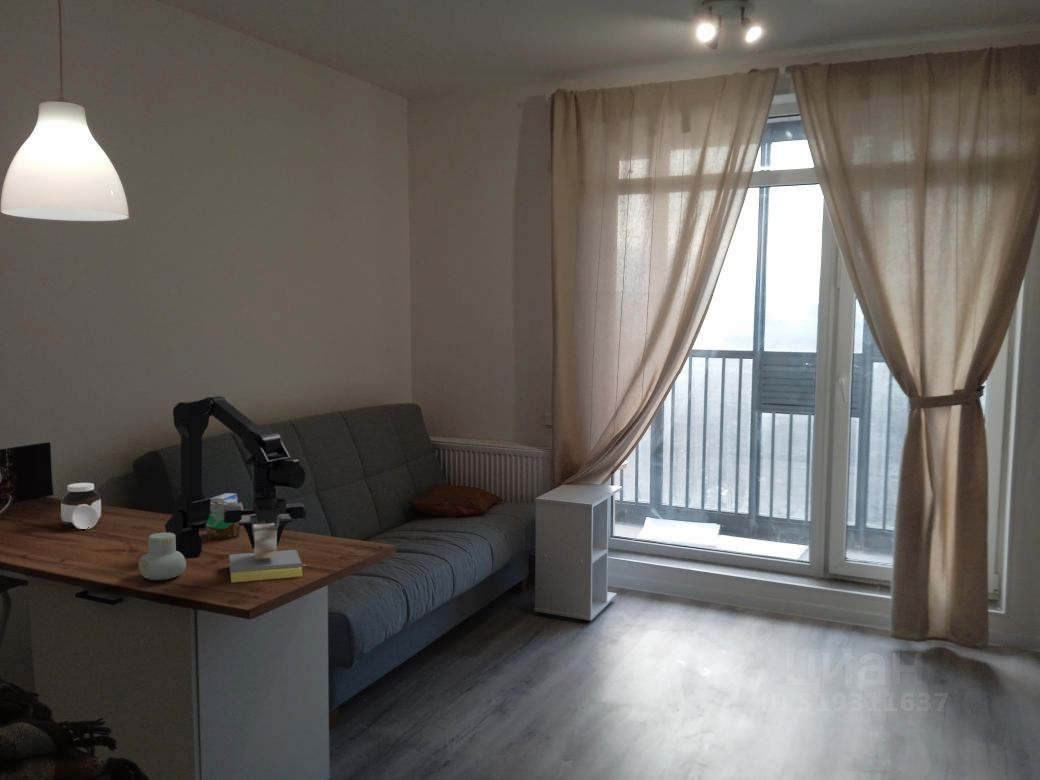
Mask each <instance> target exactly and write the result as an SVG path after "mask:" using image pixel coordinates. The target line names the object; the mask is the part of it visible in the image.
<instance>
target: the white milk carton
mask: <svg viewBox="0 0 1040 780" xmlns="http://www.w3.org/2000/svg"><path fill="white" fill-rule="evenodd" d="M252 531H253V538H254V549H252V553H254V557H255V559H262V558H276V557H277V551H278V546H277V529H276V524H275V522H274V523H273V522H272V523H256V524H252Z"/></svg>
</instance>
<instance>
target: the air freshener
mask: <svg viewBox="0 0 1040 780" xmlns="http://www.w3.org/2000/svg"><path fill="white" fill-rule="evenodd" d="M147 542H148V543H147V544H148V547H147V548H148V552H147V553H145V554H144V555H142V556H141V557H140V558H139V560H138V570H139V572H140V574H141V576H142V577H144V578H145V579H148V580H149V581H167V580H170V579H174V578H175V577H178V576H180V575H181V574H182V573H183V572H184V571H185V570H186V568H187V561H186V557H184V556H183V555H182V554H181V553H180V552H178V551H176V536H175V534H173V533H166V532H156V533H152V534H150V535H149V536H148V541H147Z"/></svg>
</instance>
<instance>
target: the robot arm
mask: <svg viewBox="0 0 1040 780" xmlns="http://www.w3.org/2000/svg"><path fill="white" fill-rule="evenodd" d="M172 417H173V424H174V428H175V429H176V431H177V433H178V435H179V436H180V494H179V495H178V497H177V499H176V500H175V503H174V506H173V507H174V508H173V514H172V516H171V517H170V518H169V519H168V521H167V522H165V524H164V529H165V533H173V534H175V536H176V551H178V552H180V553H181V554H182V555H183V556H184V558H192V557H193V558H194V557H200V555H201V553H202V551H203V547H202V545H203V543H202V542H203V540H202V539H203V537H202V534H201V533H200V530H202V529H206V528H207V527H206V524H207V520H208V519H209V514H211V510H210V504H211V500H210V498H207V497H206V495H205V494H204V492H203V436H204V433H205V431H206V430H207V428H208V426H209V421H210V417H213V418H215V419H216V420H217V421H219V422H220V423H221V424H222V425H224V426H225V427H226V428H227V429H228V430H229V431H231V432H232V433H233V434H235V435H236V436H237V437H238V438H239V439H240V440H241V442H242V446H243V448H244V449H245V450H246V451H247V452H248V453H249V455H250V457H249V458H248V459H247V460H246V461H245V462H244V463H245V464H246V465H248V466H249V465H250V466H252V467H251V468H252V469H251V471H252V472H251V473H252V477H251V478H252V481H251V482H252V483H251V484H252V485H251V490H252V491H251V492H252V493H251V494H252V495H251V496H252V497H251V499H252V502H251V503H252V505H251V506H252V509H249V508H248V509H243V510H241V506H231V507H225V508H224V523H237V522H238V525H240V527H241V526H242V527H243V528H244V529H245V532H246V534H247V536H248V539H249V542H250V546H251V549H252V550H253V549H254V538H253V524H252V519H251V518H255V521H257V522H259V523H261V522H265V521H266V522H267V521H271V522H274V521H276V525H275V527H276V529H277V547H278V545H279V543H280V540H281V537H282V534H283V531H284V530H285V528H286V526H287V524H289V523H292V521H293V520H302V519H303V520H304V519H306V518H307V516H306V514H307V513H306V508H305V505H304V504H303V503H302V502H291V503H287V501H286V498H278V487H280V488H281V487H282V488H286V489H294V490H297V489H300V488H301V487H302V486H303V484H304V483H305V482H306V481H305V480H306V476H307V475H306V471H305V468H304V467H303V465H301V464H300V460H299V459H294V458H293V459H291V456H290V454H289V452H288V450H287V448H286V447H285V445H284V443H283V441H282V437H281V435H280V434H279V433H278V432H276V431H275V430H273V429H271V428H268V427H266V426H263V425H259V424H257V423H256V422H253V421H252V420H251V419H250V418H248V417H247V416H246V415H245V414H243V413H242V412H241V411H240V410H238V409H237V408H235V406H233V405H232V404H231V403H229V402H228V401H227V398H226V397H224V396H222V395H217V396H208V397H206V398H203V399H201V400H191V401H182V402H181V401H180V402H178V403H177V404H176V405H175V406H174V407H173V410H172Z"/></svg>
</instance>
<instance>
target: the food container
mask: <svg viewBox="0 0 1040 780" xmlns="http://www.w3.org/2000/svg"><path fill="white" fill-rule="evenodd" d="M231 506H241V510H244V505H243V503H242V501H241V502H237V503H236V504H230V503H227V502H211V504H210V510H211V514H209V519H208V520H207V524H206V527H205V528H206V535H207V538H208V539H210V540H214V541H216V540H217V541H225V540H233V539H238V538H240V532H241V531H240V530H241V526H240V525H238V522H237V523H224V508H225V507H231Z"/></svg>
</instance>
